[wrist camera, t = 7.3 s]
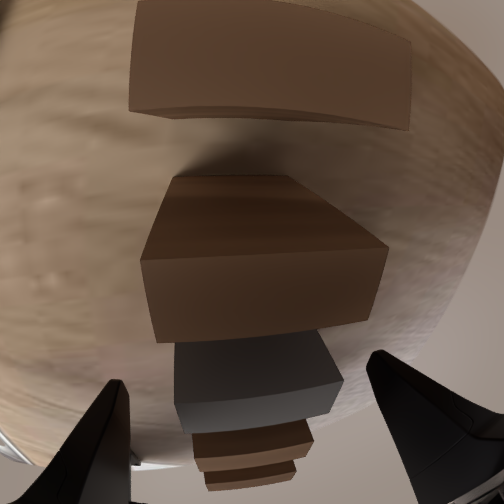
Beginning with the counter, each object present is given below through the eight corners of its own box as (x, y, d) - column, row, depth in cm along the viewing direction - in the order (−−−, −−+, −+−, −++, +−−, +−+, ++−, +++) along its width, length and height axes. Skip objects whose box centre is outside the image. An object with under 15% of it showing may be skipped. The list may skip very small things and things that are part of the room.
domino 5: (265, 392, 19) (291, 479, 12) (198, 399, 18) (208, 491, 11) (267, 377, 18) (296, 471, 11) (195, 383, 17) (205, 484, 11)
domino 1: (290, 121, 11) (408, 130, 4) (172, 119, 10) (128, 111, 3) (292, 78, 10) (410, 41, 4) (173, 74, 9) (138, 1, 3)
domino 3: (276, 296, 15) (329, 412, 8) (182, 302, 14) (184, 433, 7) (280, 263, 14) (344, 380, 7) (178, 269, 13) (174, 403, 7)
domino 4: (270, 353, 17) (305, 456, 10) (191, 360, 16) (199, 471, 9) (272, 331, 16) (314, 441, 9) (187, 337, 15) (194, 458, 9)
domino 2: (284, 217, 13) (367, 320, 6) (175, 221, 12) (156, 343, 5) (287, 175, 12) (389, 247, 6) (172, 177, 11) (139, 260, 5)
